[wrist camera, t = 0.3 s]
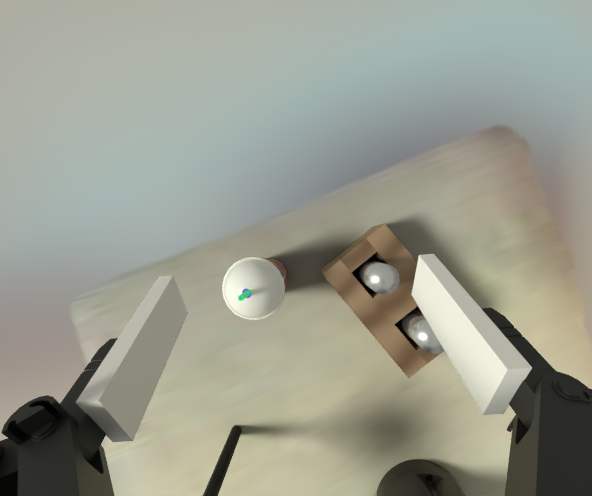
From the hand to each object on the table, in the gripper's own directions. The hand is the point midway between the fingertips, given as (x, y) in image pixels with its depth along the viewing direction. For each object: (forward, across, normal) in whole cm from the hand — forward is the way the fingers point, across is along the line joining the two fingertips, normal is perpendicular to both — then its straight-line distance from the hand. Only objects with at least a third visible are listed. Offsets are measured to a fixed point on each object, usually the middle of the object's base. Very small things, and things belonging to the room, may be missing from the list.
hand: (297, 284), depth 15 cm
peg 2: (+18, -17, +24) cm, 35 cm away
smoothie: (+28, +6, +20) cm, 35 cm away
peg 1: (+23, -11, +18) cm, 31 cm away
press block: (+25, -14, +24) cm, 37 cm away
